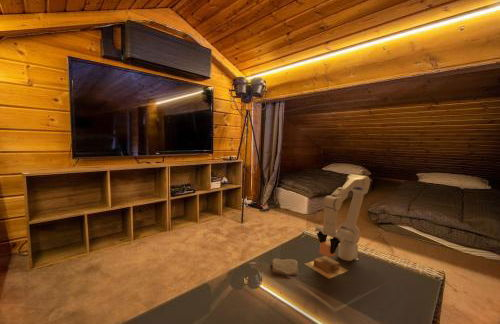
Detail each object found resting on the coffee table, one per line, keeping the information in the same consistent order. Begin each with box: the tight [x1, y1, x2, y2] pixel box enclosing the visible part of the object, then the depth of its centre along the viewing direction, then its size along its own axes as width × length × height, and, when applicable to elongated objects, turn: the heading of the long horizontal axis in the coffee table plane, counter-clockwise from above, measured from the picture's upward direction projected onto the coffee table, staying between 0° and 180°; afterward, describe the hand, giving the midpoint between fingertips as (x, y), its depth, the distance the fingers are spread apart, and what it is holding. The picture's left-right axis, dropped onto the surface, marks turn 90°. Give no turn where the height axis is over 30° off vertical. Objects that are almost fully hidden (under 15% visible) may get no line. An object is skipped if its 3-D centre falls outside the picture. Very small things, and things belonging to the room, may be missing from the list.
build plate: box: [304, 260, 349, 280], centre depth 109 cm, size 14×14×1 cm
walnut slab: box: [313, 255, 340, 274], centre depth 109 cm, size 8×8×3 cm
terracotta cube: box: [318, 240, 337, 258], centre depth 109 cm, size 5×5×5 cm
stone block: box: [271, 257, 299, 278], centre depth 106 cm, size 12×5×10 cm
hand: (327, 250), depth 109 cm, fingers closed on terracotta cube, 5 cm apart
